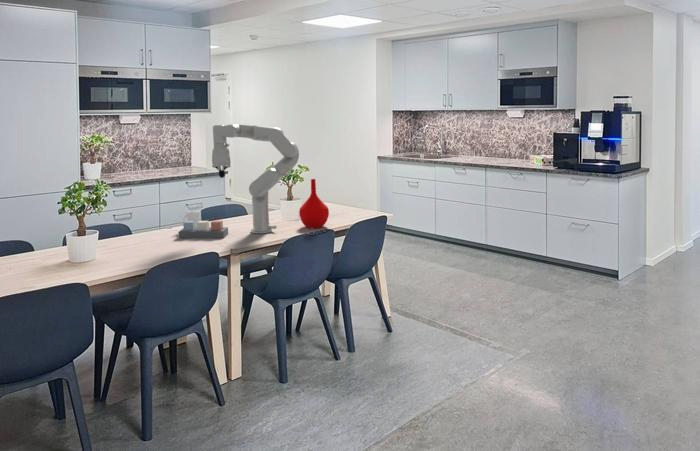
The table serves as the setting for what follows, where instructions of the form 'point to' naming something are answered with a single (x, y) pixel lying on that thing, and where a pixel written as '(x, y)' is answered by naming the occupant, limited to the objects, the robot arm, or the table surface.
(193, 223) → the key blue
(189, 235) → the console
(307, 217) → the vase
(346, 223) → the table surface
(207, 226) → the key ivory
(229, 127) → the robot arm
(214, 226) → the key brick
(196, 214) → the mug
